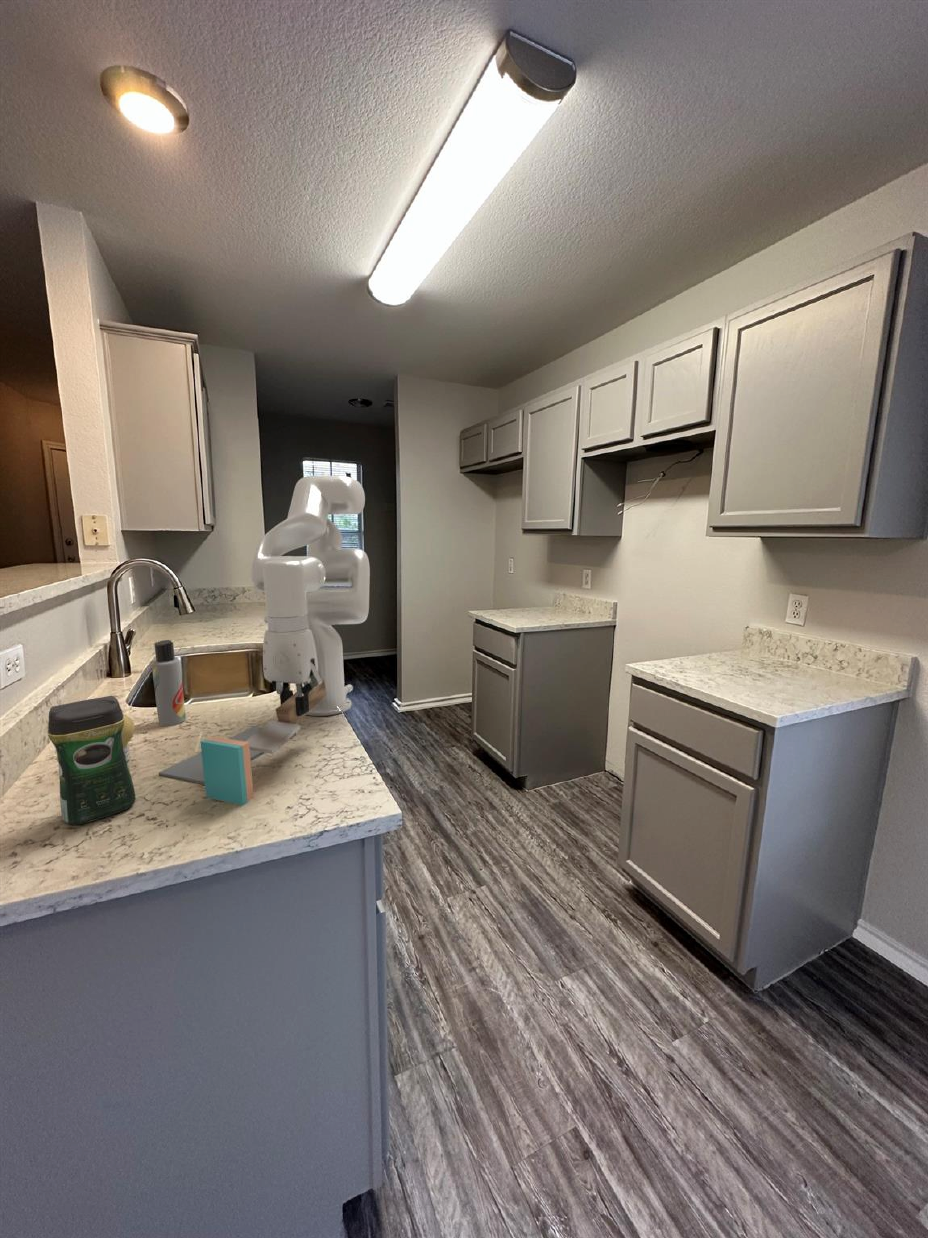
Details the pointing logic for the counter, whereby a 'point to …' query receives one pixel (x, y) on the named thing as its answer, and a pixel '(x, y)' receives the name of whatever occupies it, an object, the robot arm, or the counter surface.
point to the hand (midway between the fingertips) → (295, 711)
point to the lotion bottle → (168, 685)
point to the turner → (283, 723)
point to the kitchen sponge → (227, 770)
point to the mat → (194, 766)
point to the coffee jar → (91, 759)
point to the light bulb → (127, 734)
